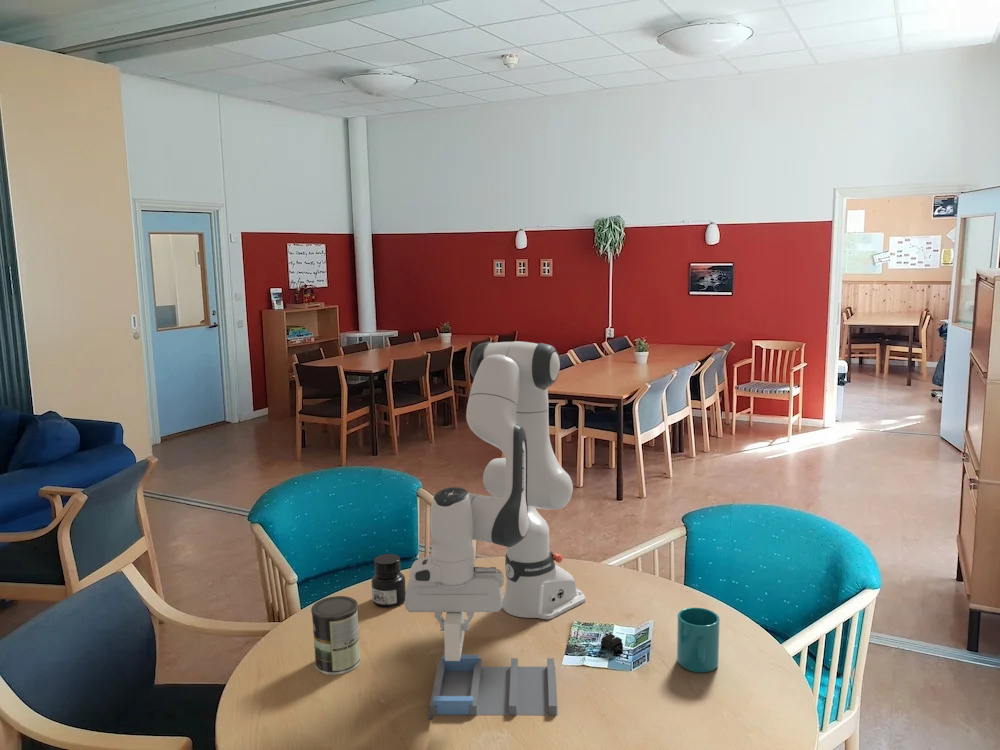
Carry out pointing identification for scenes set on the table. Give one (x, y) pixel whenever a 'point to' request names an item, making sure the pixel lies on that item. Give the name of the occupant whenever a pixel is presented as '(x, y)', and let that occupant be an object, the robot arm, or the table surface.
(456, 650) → the plug block
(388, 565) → the ink bottle
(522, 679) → the board
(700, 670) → the cup
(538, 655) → the table surface
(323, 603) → the coffee can
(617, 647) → the black notched block
